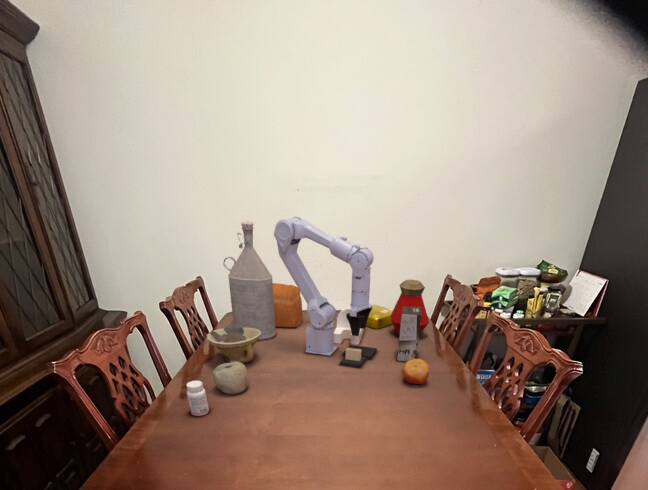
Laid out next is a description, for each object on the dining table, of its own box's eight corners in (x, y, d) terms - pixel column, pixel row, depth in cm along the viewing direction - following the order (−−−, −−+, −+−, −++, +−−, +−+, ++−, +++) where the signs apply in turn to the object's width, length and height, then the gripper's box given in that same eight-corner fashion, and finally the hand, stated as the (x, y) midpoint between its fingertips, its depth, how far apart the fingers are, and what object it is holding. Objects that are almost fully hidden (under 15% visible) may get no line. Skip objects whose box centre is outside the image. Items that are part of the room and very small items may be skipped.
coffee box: (415, 362, 139) (421, 314, 131) (396, 360, 140) (401, 313, 132) (416, 352, 147) (422, 306, 138) (398, 350, 148) (402, 305, 139)
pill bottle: (192, 407, 114) (186, 380, 109) (210, 407, 114) (205, 379, 109) (189, 416, 110) (183, 388, 105) (207, 415, 110) (202, 387, 105)
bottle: (434, 336, 160) (442, 283, 149) (409, 344, 154) (415, 288, 143) (406, 325, 171) (411, 274, 160) (381, 332, 164) (384, 279, 154)
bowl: (274, 359, 142) (272, 332, 137) (231, 375, 131) (227, 346, 126) (242, 346, 152) (239, 320, 147) (200, 360, 141) (195, 333, 136)
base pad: (342, 355, 144) (343, 352, 144) (349, 347, 151) (350, 344, 150) (370, 359, 141) (371, 356, 141) (376, 351, 148) (376, 348, 147)
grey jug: (237, 328, 168) (224, 219, 146) (279, 330, 166) (272, 219, 145) (227, 339, 157) (211, 223, 136) (272, 341, 156) (263, 224, 134)
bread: (296, 329, 167) (294, 289, 158) (234, 325, 171) (230, 286, 162) (304, 318, 178) (303, 280, 170) (246, 315, 182) (242, 278, 174)
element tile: (373, 313, 184) (374, 302, 182) (400, 321, 175) (401, 310, 172) (349, 321, 176) (350, 309, 173) (376, 329, 167) (377, 318, 164)
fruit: (430, 371, 130) (432, 355, 123) (426, 392, 127) (427, 377, 120) (405, 368, 132) (404, 352, 125) (399, 388, 129) (399, 374, 122)
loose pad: (339, 365, 138) (340, 351, 135) (348, 355, 145) (348, 342, 142) (360, 368, 136) (360, 354, 133) (367, 357, 143) (368, 344, 140)
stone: (258, 369, 125) (243, 356, 116) (248, 401, 124) (232, 391, 114) (229, 364, 128) (212, 351, 119) (220, 396, 127) (202, 385, 117)
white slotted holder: (332, 342, 155) (333, 314, 149) (341, 327, 169) (341, 300, 163) (358, 344, 153) (359, 315, 147) (364, 328, 168) (365, 301, 162)
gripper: (366, 297, 125) (364, 340, 132) (378, 286, 136) (376, 326, 143) (343, 295, 127) (343, 337, 134) (358, 284, 138) (356, 324, 146)
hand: (358, 331), depth 139 cm, fingers open, 7 cm apart
